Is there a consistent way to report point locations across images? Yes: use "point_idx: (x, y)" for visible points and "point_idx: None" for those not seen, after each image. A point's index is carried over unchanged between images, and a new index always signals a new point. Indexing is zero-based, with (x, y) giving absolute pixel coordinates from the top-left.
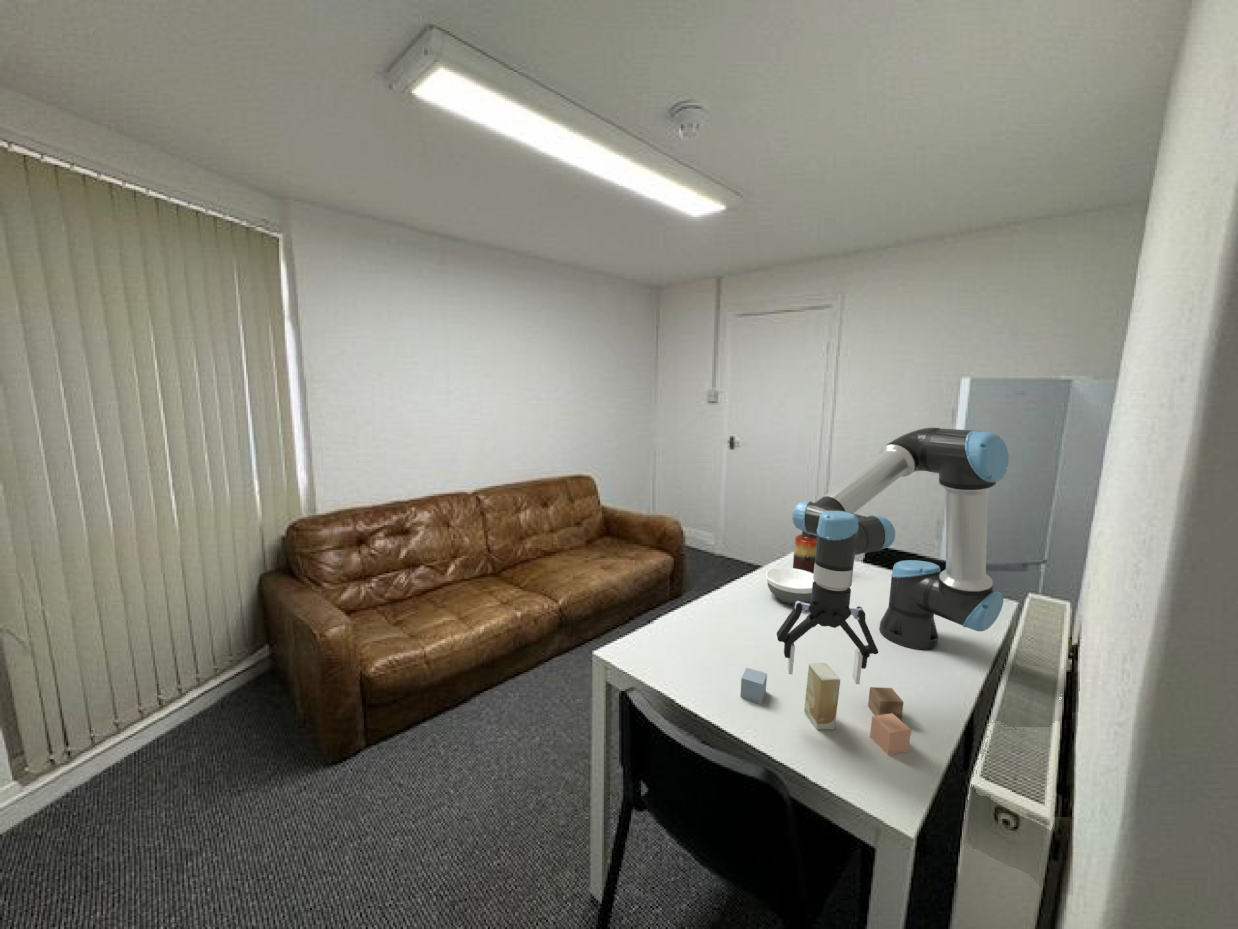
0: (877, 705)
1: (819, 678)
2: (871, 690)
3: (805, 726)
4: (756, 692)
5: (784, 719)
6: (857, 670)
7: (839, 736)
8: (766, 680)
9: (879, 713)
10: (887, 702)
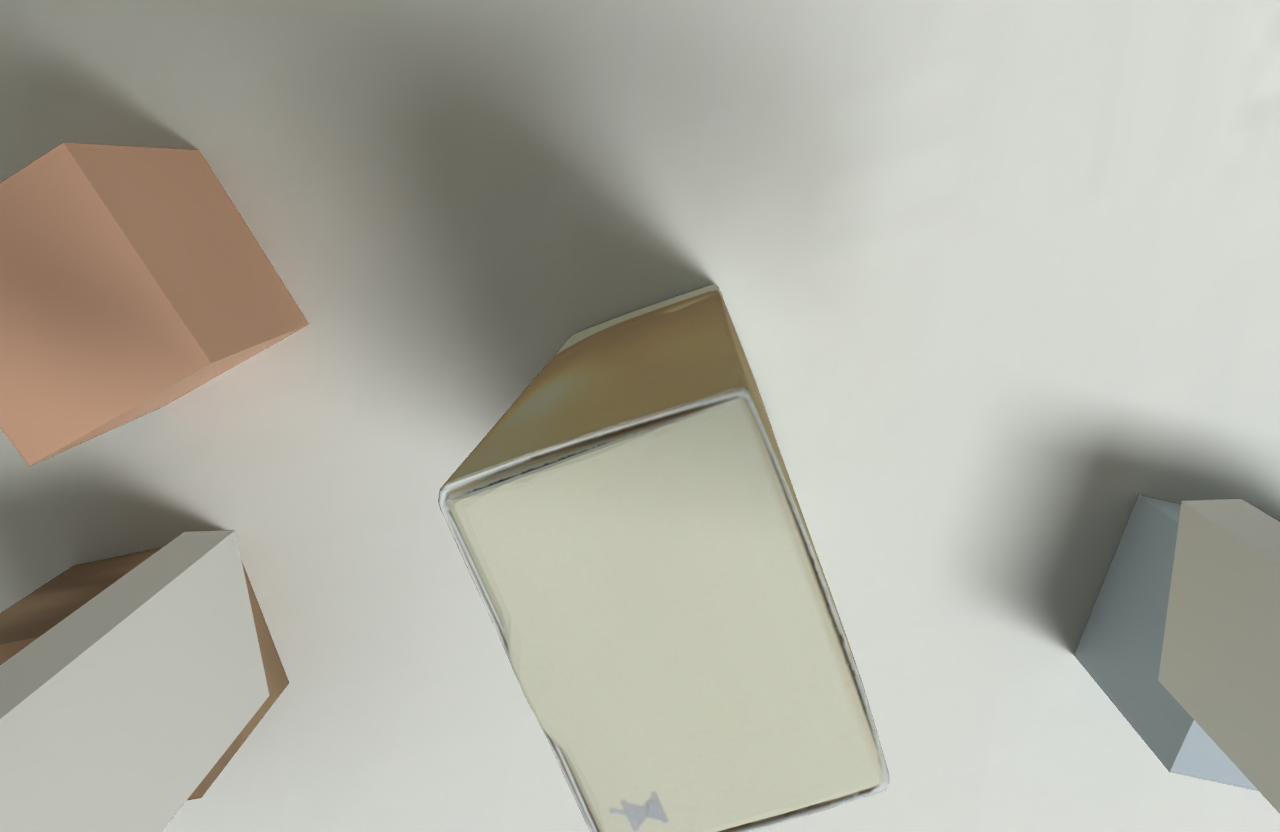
0: None
1: (775, 453)
2: None
3: (802, 303)
4: None
5: (969, 342)
6: (76, 650)
7: (541, 258)
8: (1132, 719)
9: None
10: None
